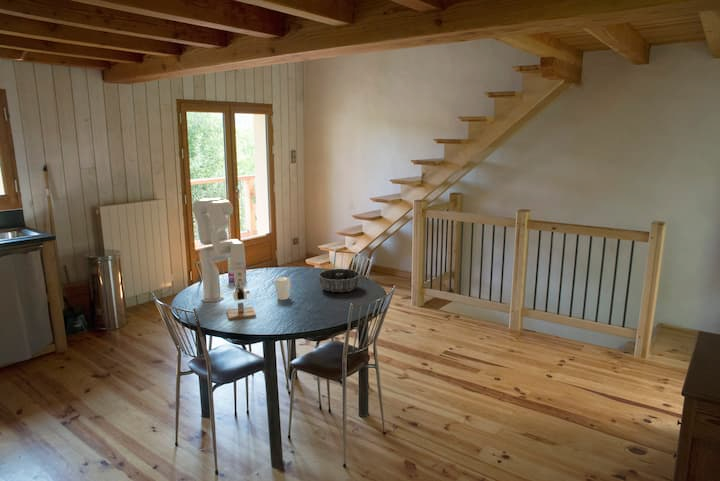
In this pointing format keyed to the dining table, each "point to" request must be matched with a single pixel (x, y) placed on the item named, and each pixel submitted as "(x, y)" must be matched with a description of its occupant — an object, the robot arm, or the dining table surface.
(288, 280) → the cup
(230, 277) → the candy bar box
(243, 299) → the knob
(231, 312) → the shaft block
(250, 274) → the dining table surface
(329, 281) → the bundt pan
